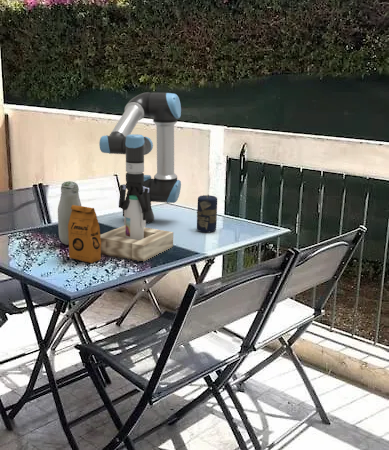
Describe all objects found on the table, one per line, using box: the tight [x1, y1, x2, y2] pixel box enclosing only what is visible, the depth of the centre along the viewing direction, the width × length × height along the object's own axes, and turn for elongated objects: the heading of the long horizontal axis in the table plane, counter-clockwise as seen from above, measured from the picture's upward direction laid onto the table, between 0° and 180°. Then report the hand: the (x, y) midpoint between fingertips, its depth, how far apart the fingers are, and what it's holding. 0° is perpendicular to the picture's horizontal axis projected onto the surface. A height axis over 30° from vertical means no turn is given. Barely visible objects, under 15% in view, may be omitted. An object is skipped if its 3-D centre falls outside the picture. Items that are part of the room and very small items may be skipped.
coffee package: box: [68, 205, 102, 264], centre depth 227 cm, size 10×12×22 cm
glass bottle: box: [57, 181, 82, 246], centre depth 245 cm, size 10×10×28 cm
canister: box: [196, 194, 218, 233], centre depth 275 cm, size 10×10×18 cm
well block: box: [100, 224, 174, 263], centre depth 243 cm, size 24×24×7 cm
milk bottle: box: [126, 194, 144, 240], centre depth 240 cm, size 8×8×20 cm
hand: (134, 225), depth 241 cm, fingers closed on milk bottle, 7 cm apart
